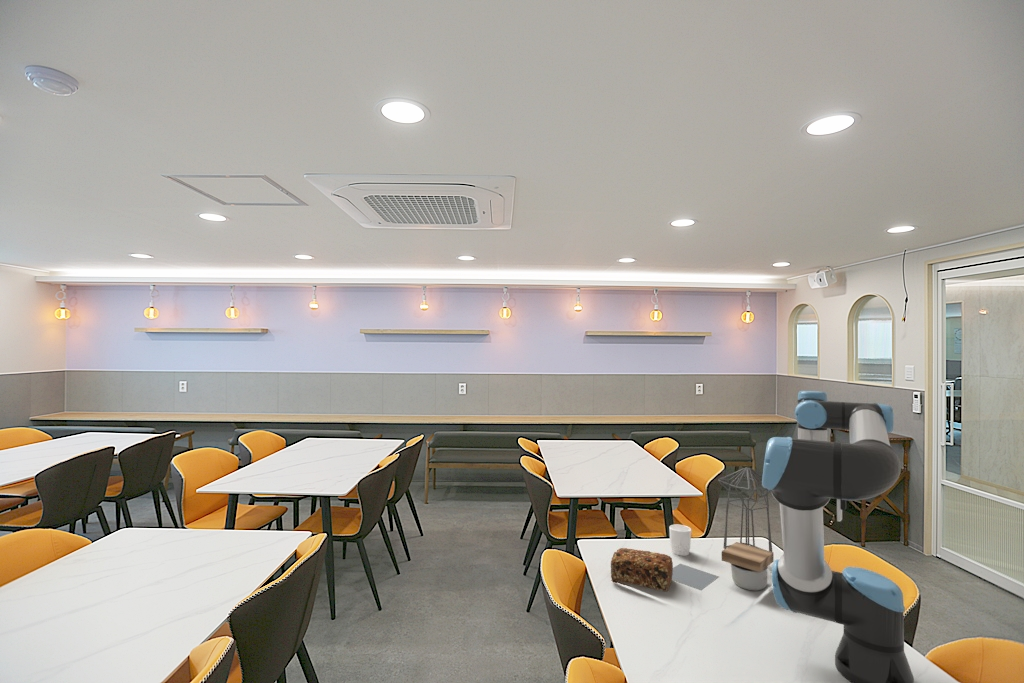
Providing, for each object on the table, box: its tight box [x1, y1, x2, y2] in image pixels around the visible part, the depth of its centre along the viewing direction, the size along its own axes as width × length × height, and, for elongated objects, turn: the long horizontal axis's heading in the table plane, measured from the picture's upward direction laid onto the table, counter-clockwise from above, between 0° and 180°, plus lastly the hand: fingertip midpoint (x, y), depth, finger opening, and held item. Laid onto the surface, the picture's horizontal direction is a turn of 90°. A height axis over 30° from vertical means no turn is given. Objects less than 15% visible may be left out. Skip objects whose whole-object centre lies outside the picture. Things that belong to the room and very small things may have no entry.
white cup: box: [668, 523, 692, 557], centre depth 186 cm, size 8×8×10 cm
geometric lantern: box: [718, 466, 773, 552], centre depth 178 cm, size 16×16×35 cm
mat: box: [672, 563, 720, 591], centre depth 165 cm, size 14×14×1 cm
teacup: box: [730, 563, 768, 591], centre depth 162 cm, size 14×11×8 cm
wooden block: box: [721, 541, 775, 572], centre depth 162 cm, size 12×12×3 cm
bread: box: [610, 547, 674, 592], centre depth 163 cm, size 19×11×10 cm, turn 62°
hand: (812, 514), depth 145 cm, fingers open, 13 cm apart
